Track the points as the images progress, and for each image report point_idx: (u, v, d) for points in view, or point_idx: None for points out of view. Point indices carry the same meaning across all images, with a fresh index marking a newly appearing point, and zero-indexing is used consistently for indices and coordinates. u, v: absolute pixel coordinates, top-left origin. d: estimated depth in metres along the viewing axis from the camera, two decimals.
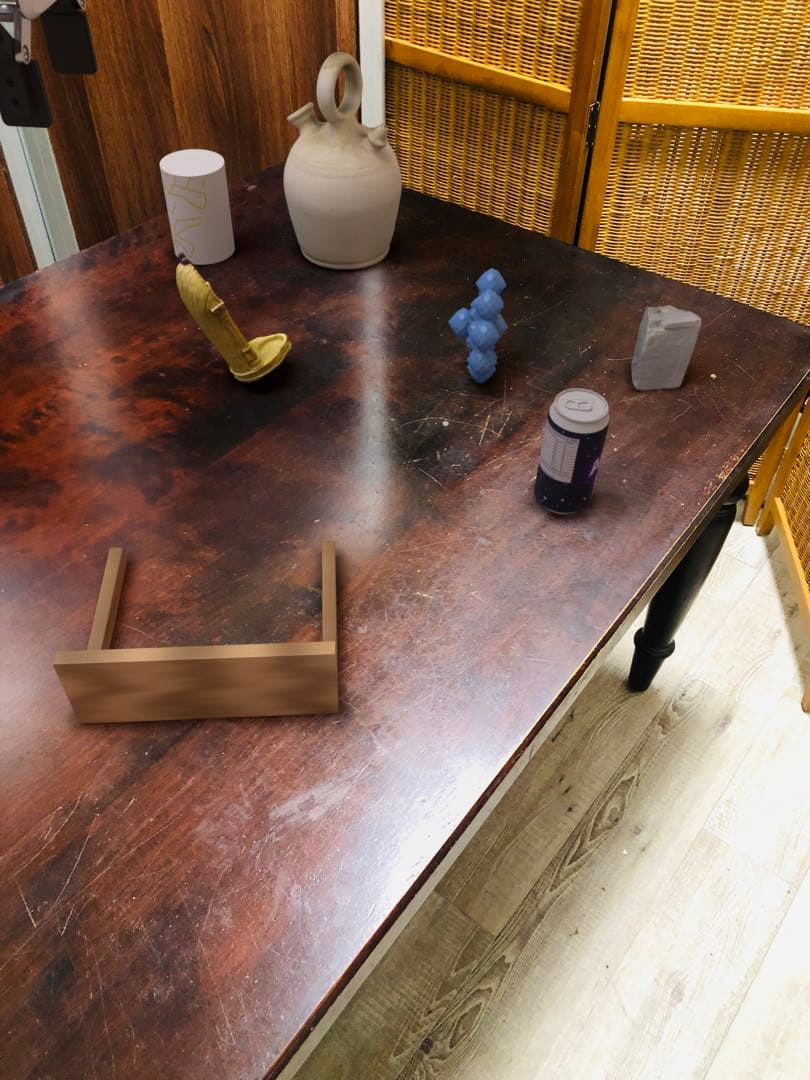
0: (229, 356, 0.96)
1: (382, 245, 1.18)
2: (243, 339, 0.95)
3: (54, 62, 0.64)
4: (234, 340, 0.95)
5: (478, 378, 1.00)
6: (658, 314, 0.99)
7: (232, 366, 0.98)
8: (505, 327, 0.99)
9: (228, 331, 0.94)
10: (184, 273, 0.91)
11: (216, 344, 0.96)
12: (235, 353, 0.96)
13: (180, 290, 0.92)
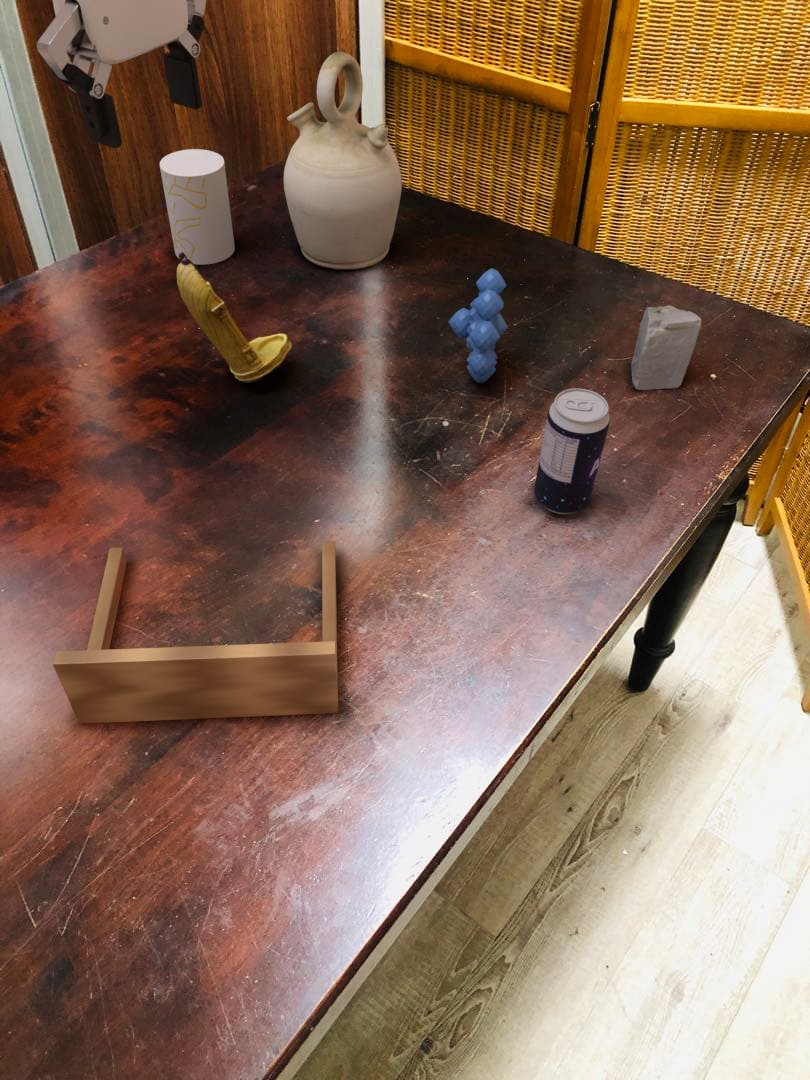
0: (229, 356, 0.96)
1: (382, 245, 1.18)
2: (243, 339, 0.95)
3: (171, 94, 0.77)
4: (234, 341, 0.95)
5: (478, 378, 1.00)
6: (658, 314, 0.99)
7: (232, 366, 0.98)
8: (505, 327, 0.99)
9: (228, 331, 0.94)
10: (185, 273, 0.91)
11: (216, 344, 0.96)
12: (235, 353, 0.96)
13: (180, 290, 0.92)
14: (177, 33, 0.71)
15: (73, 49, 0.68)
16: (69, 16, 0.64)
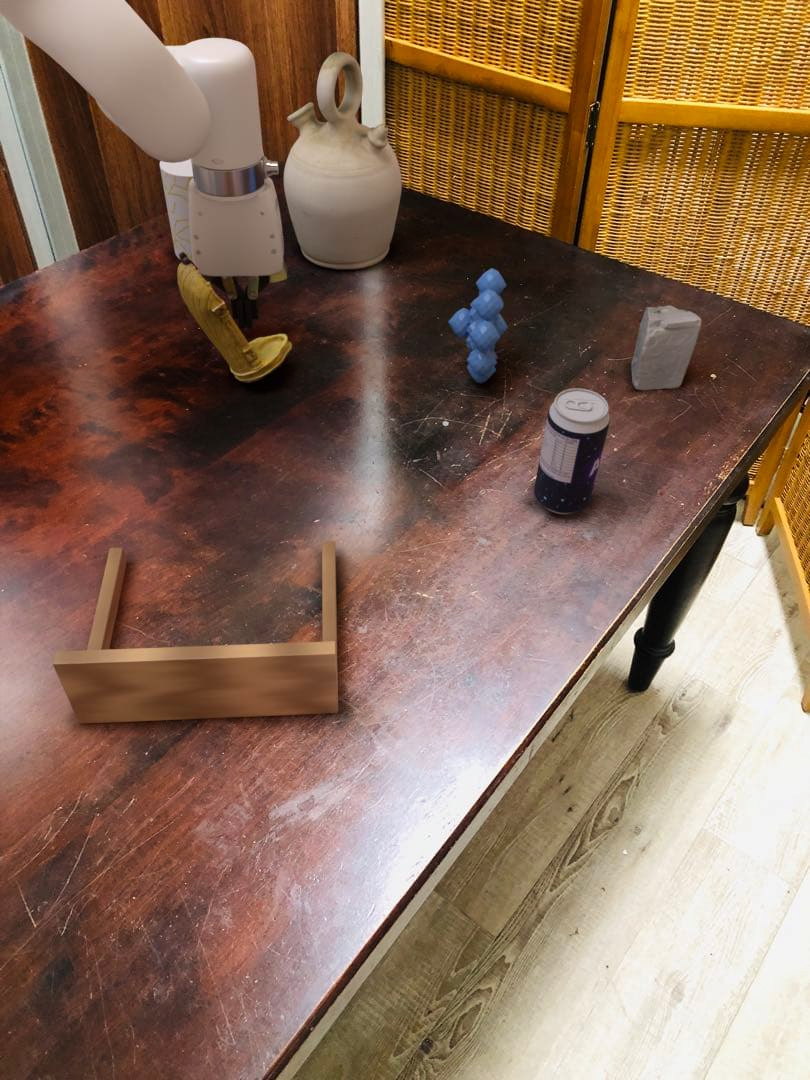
0: (230, 356, 0.96)
1: (382, 245, 1.18)
2: (244, 339, 0.95)
3: None
4: (234, 341, 0.95)
5: (478, 378, 1.00)
6: (658, 314, 0.99)
7: (232, 366, 0.98)
8: (505, 327, 0.99)
9: (228, 331, 0.94)
10: (185, 273, 0.91)
11: (217, 344, 0.96)
12: (236, 353, 0.96)
13: (181, 290, 0.92)
14: (266, 272, 1.00)
15: None
16: None
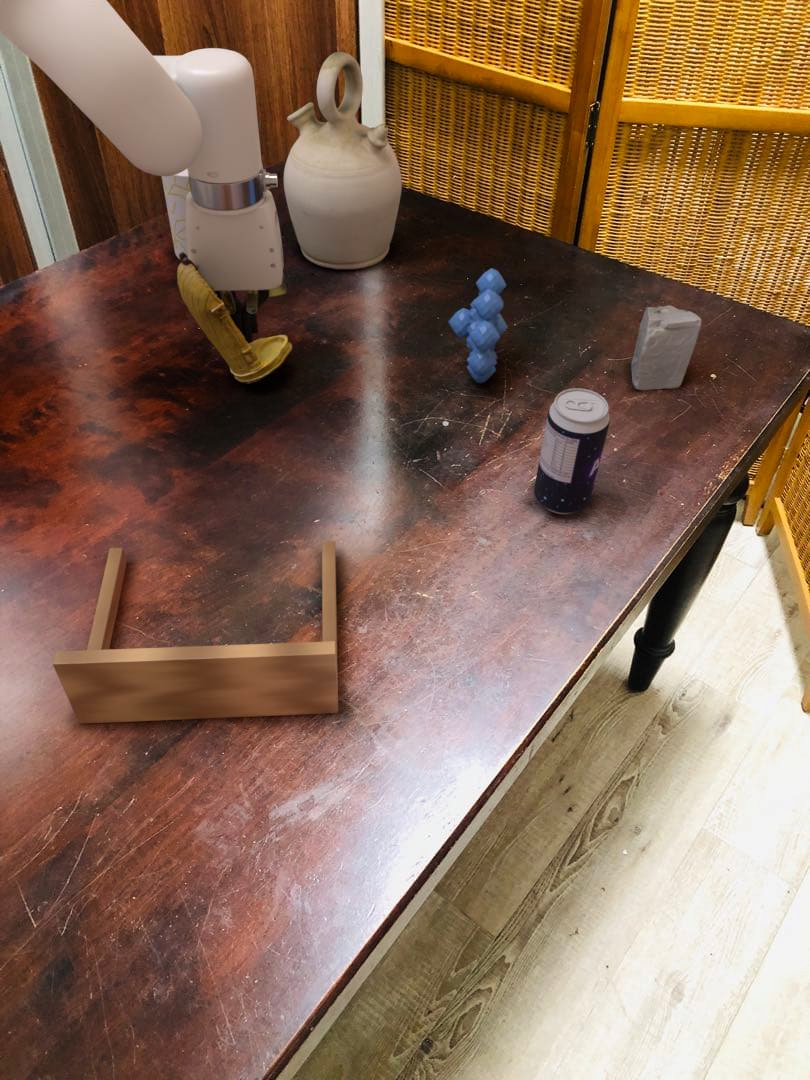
0: (229, 357, 0.96)
1: (382, 245, 1.18)
2: (243, 340, 0.95)
3: None
4: (234, 341, 0.95)
5: (478, 378, 1.00)
6: (658, 314, 0.99)
7: (232, 367, 0.98)
8: (505, 327, 0.99)
9: (228, 332, 0.94)
10: (185, 273, 0.91)
11: (216, 344, 0.96)
12: (235, 354, 0.96)
13: (181, 290, 0.92)
14: (265, 287, 0.97)
15: None
16: None
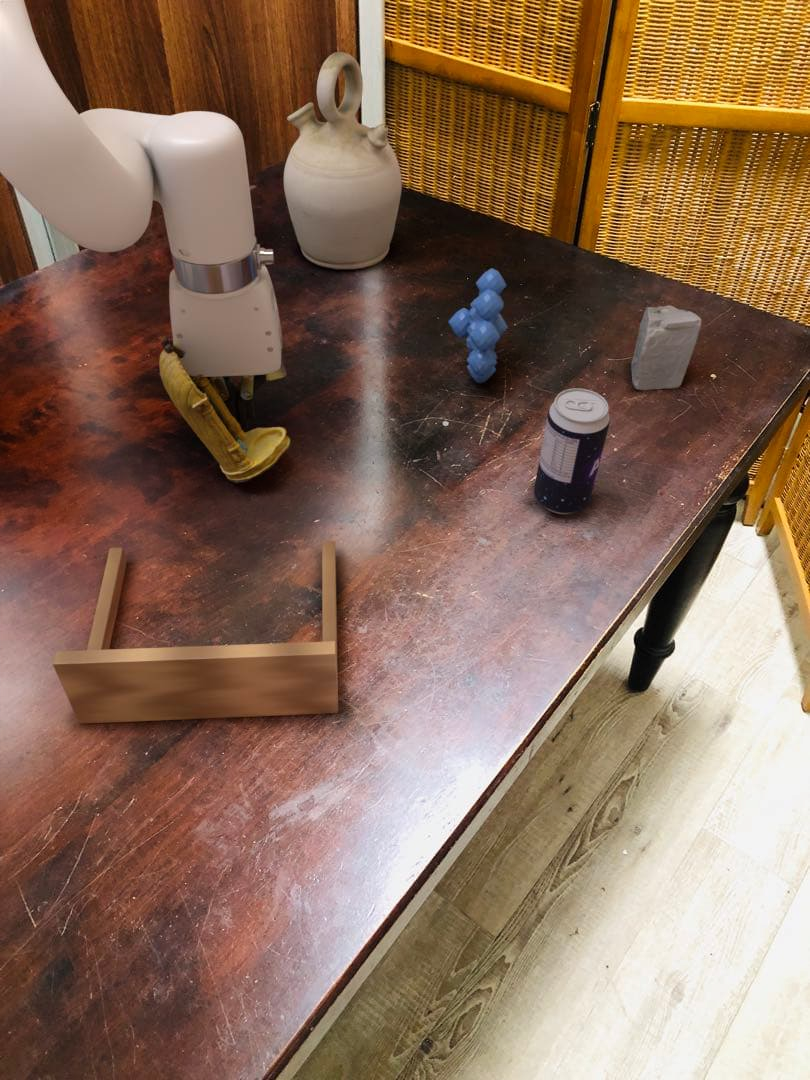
0: (215, 453, 0.85)
1: (382, 245, 1.18)
2: (229, 438, 0.83)
3: None
4: (219, 439, 0.83)
5: (478, 378, 1.00)
6: (658, 314, 0.99)
7: (219, 463, 0.87)
8: (505, 327, 0.99)
9: (212, 428, 0.83)
10: (166, 362, 0.80)
11: (201, 439, 0.85)
12: (221, 451, 0.85)
13: (162, 379, 0.81)
14: (262, 372, 0.86)
15: None
16: None
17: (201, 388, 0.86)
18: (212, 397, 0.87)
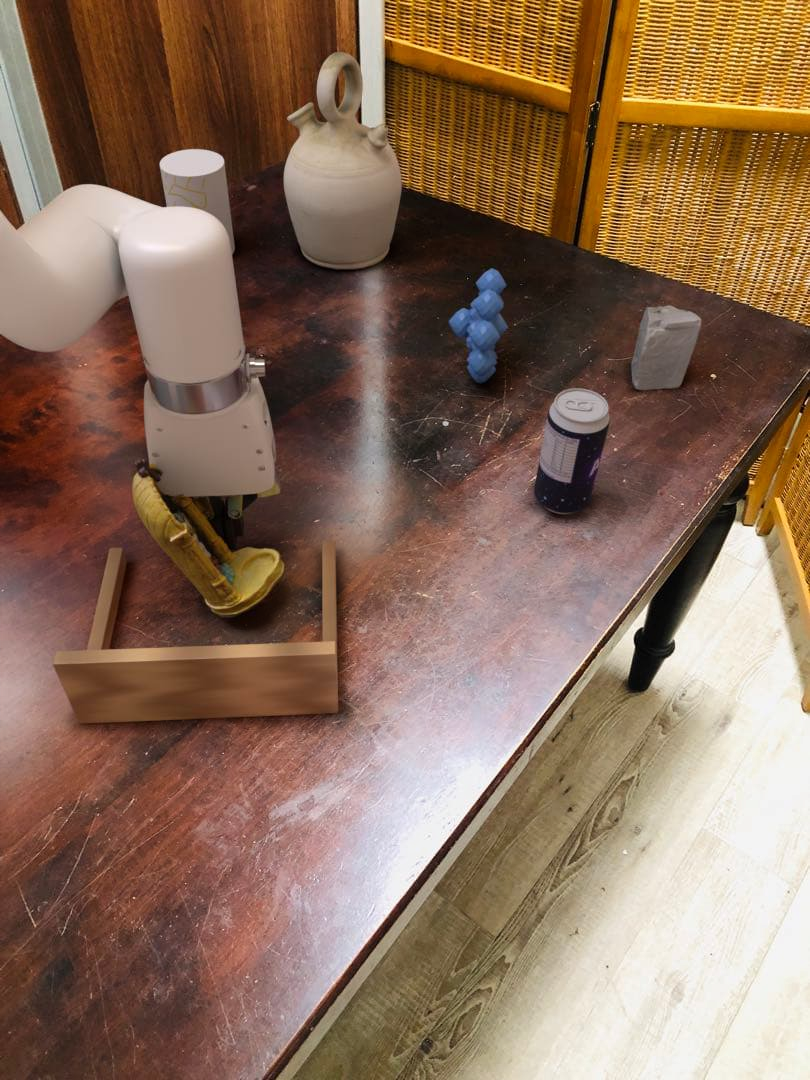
0: (197, 586, 0.74)
1: (382, 245, 1.18)
2: (213, 572, 0.72)
3: None
4: (201, 572, 0.72)
5: (478, 378, 1.00)
6: (658, 314, 0.99)
7: None
8: (505, 327, 0.99)
9: (193, 561, 0.71)
10: (140, 488, 0.68)
11: (181, 570, 0.73)
12: (203, 585, 0.73)
13: (135, 506, 0.70)
14: (252, 491, 0.74)
15: None
16: None
17: (182, 508, 0.75)
18: (195, 517, 0.76)
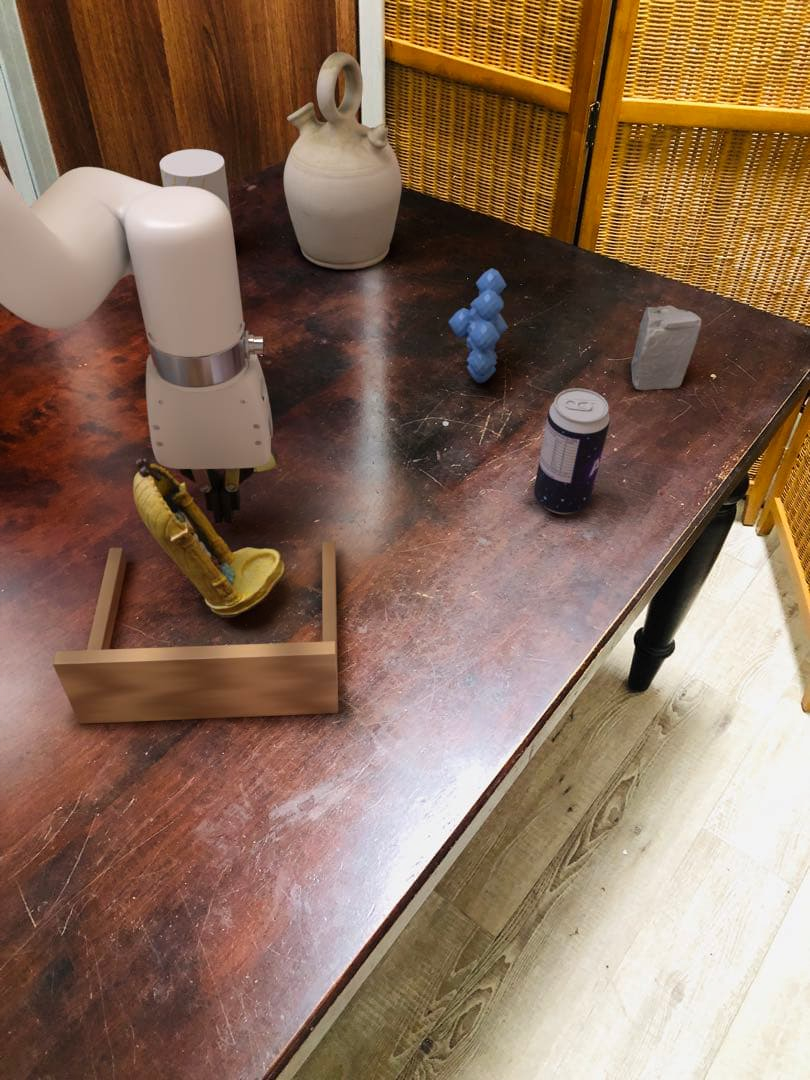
0: (197, 586, 0.74)
1: (382, 245, 1.18)
2: (214, 571, 0.72)
3: None
4: (202, 572, 0.72)
5: (478, 378, 1.00)
6: (658, 314, 0.99)
7: (202, 594, 0.75)
8: (505, 327, 0.99)
9: (194, 561, 0.71)
10: (141, 488, 0.68)
11: None
12: (204, 585, 0.73)
13: (136, 505, 0.70)
14: (249, 465, 0.77)
15: None
16: None
17: (183, 508, 0.75)
18: (195, 517, 0.76)
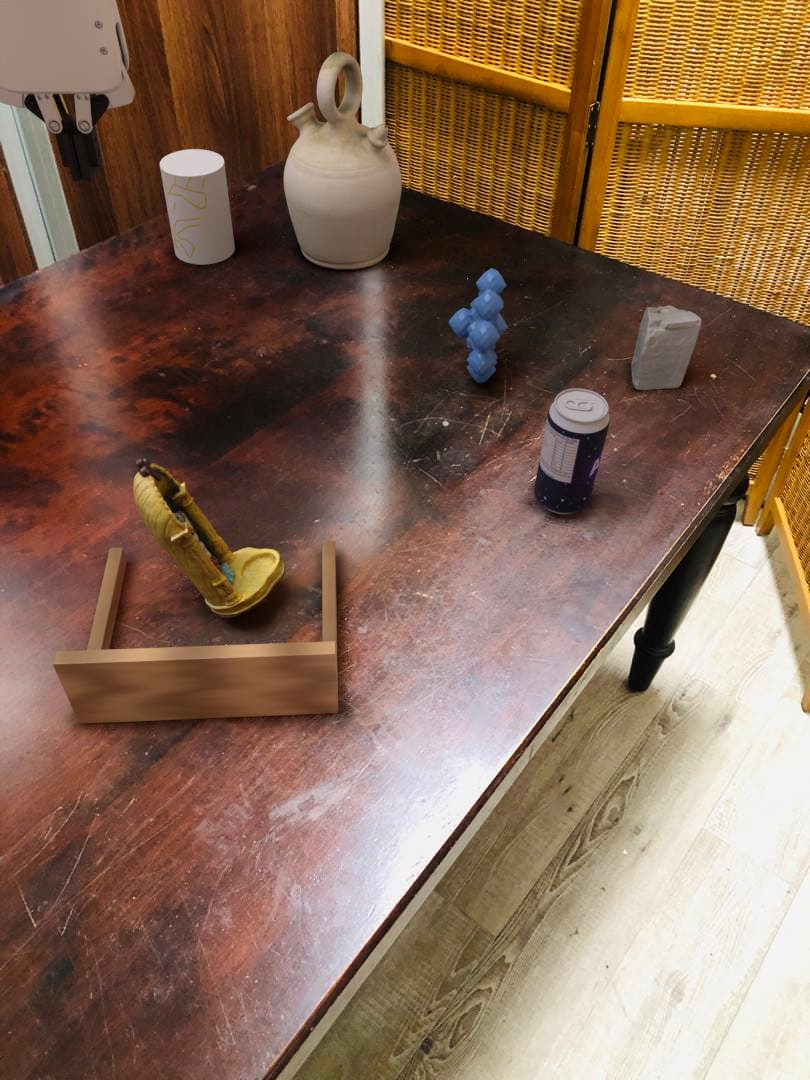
0: (197, 586, 0.74)
1: (382, 245, 1.18)
2: (214, 571, 0.72)
3: None
4: (202, 572, 0.72)
5: (478, 378, 1.00)
6: (658, 314, 0.99)
7: (202, 594, 0.75)
8: (505, 327, 0.99)
9: (194, 561, 0.71)
10: (141, 488, 0.68)
11: None
12: (204, 585, 0.73)
13: (136, 505, 0.70)
14: (98, 87, 0.69)
15: None
16: None
17: (183, 508, 0.75)
18: (195, 517, 0.76)
